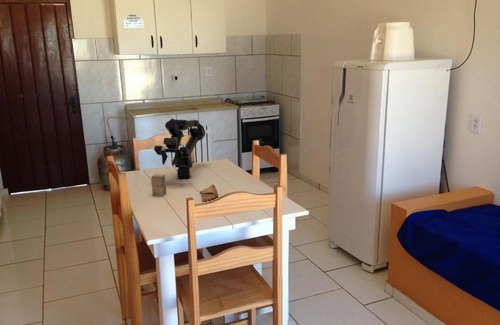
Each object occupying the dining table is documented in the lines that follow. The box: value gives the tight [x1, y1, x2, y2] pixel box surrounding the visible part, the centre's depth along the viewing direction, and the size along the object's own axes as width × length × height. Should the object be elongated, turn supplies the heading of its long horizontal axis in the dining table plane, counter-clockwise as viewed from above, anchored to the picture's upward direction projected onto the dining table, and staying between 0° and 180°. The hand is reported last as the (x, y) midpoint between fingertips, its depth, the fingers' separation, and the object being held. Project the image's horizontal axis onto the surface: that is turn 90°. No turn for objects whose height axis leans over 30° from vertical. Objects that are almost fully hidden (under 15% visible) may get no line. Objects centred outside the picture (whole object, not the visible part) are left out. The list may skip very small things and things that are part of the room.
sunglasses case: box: [199, 184, 219, 203], centre depth 218 cm, size 18×7×7 cm
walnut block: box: [150, 173, 167, 198], centre depth 220 cm, size 5×5×10 cm
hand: (167, 164), depth 229 cm, fingers open, 5 cm apart
